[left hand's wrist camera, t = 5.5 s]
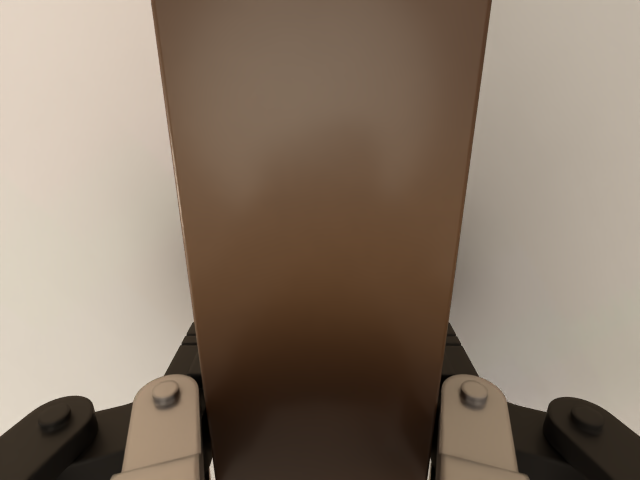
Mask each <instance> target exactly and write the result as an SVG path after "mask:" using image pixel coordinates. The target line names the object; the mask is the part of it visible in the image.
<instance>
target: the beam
mask: <svg viewBox="0 0 640 480" xmlns="http://www.w3.org/2000/svg"><path fill="white" fill-rule="evenodd" d="M491 3H492V0H151V5H152V12H153V19H154V27H155V34H156V42H157V49H158V57H159V64H160V71H161V79H162V86H163V94H164V101H165V108H166V116H167V123H168V131H169V138H170V145H171V153H172V160H173V168H174V175H175V183H176V190H177V197H178V205H179V212H180V220H181V227H182V234H183V242H184V249H185V257H186V264H187V272H188V279H189V286H190V294H191V301H192V309H193V316H194V323H195V331H196V338H197V346H198V353H199V360H200V368H201V375H202V383H203V390H204V398H205V405H206V412H207V420H208V427H209V435H210V442H211V449H212V457H213V464H214V472H215V479H216V480H427V477H428V469H429V462H430V455H431V447H432V440H433V432H434V425H435V418H436V410H437V403H438V395H439V388H440V381H441V373H442V366H443V358H444V351H445V344H446V336H447V329H448V321H449V314H450V307H451V299H452V292H453V284H454V277H455V270H456V262H457V255H458V247H459V240H460V233H461V225H462V218H463V210H464V203H465V196H466V188H467V181H468V173H469V166H470V159H471V151H472V144H473V136H474V129H475V121H476V114H477V107H478V99H479V92H480V84H481V77H482V70H483V62H484V55H485V47H486V40H487V33H488V25H489V18H490V10H491Z"/></svg>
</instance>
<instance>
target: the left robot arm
mask: <svg viewBox="0 0 640 480" xmlns="http://www.w3.org/2000/svg"><path fill="white" fill-rule="evenodd" d="M430 458H431V468H430V476H429V480H640V436H638V435H637V434H636V433H635V432H633V431H632V430H631V429H629V428H628V427H627V426H626V425H624V424H623V423H622V422H621V421H619V420H618V419H617V418H616V417H614V416H613V415H612V414H610V413H609V412H608V411H606V410H605V409H603V408H601V407H600V406H598V405H596V404H593V403H591V402H588V401H586V400H582V399H578V398H573V397H561V398H557V399H554V400H553V401H551V402H550V404H549V406H548V409H547V412H543V411H539V410H535V409H530V408H526V407H522V406H518V405H514V404H512V403H509V402H507V401H506V398H505V396H504V394H503V393H502V391H501V390H500V389H499V388H498V387H497V386H495V385H494V384H493V383H491V382H489V381H487V380H485V379H483V378H480V377H479V376H478V374H477V372H476V370H475V368H474V367H473V365H472V363H471V361H470V359H469V357H468V356H467V354H466V352H465V350H464V348H463V347H462V346H461V343H460V341H459V339H458V337H457V336H456V334H455V332H454V330H453V328H452V326H451V325H450V323H449V322H448V329H447V336H446V344H445V351H444V358H443V366H442V373H441V381H440V388H439V395H438V403H437V410H436V418H435V425H434V432H433V440H432V447H431V455H430ZM211 460H212V449H211V442H210V435H209V427H208V420H207V412H206V405H205V398H204V390H203V383H202V375H201V368H200V360H199V353H198V346H197V338H196V331H195V323H194V322H193V323H192V325H191V327H190V329H189V330H188V332H187V336H185V338H184V340H183V341H182V345H180V347H179V349H178V351H177V353H176V354H175V356H174V358H173V360H172V362H171V364H170V366H169V367H168V369H167V371H166V373H165V375H164V376H163V377H160V378H157V379H155V380H153V381H151V382H149V383H147V384H146V385H145V386H143V387H142V388H141V389H140V390H139V391H138V393H137V394H136V396H135V398H134V401H133V402H132V403H130V404H126V405H123V406H119V407H114V408H110V409H106V410H102V411H97V412H95V410H94V407H93V404H92V402H91V401H90V400H89V399H88V398H85V397H82V396H67V397H62V398H58V399H55V400H52V401H50V402H48V403H46V404H44V405H42V406H40V407H38V408H37V409H35V410H34V411H32V412H31V413H30V414H28V415H27V416H26V417H24V418H23V419H22V420H21V421H19V422H18V423H17V424H16V425H14V426H13V427H12V428H11V429H9V430H8V431H7V432H5V433H4V434H3V435H2V436H0V480H211V476H210V468H209V467H210V464H211Z"/></svg>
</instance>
